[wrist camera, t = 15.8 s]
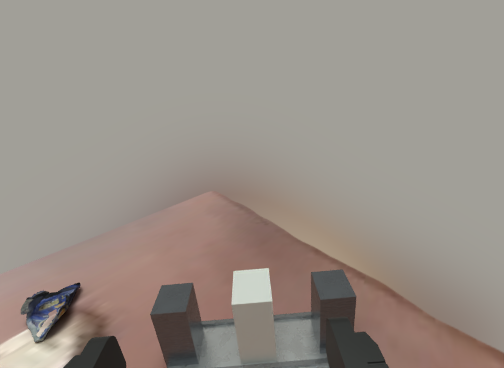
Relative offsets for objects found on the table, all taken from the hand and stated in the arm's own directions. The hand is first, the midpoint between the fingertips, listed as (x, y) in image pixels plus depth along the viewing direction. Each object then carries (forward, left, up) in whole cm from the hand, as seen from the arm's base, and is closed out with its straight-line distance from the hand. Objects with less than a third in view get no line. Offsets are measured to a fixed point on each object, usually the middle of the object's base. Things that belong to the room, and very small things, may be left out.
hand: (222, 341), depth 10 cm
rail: (-7, +19, -30) cm, 36 cm away
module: (-7, +19, -28) cm, 34 cm away
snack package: (-48, +17, -31) cm, 60 cm away
